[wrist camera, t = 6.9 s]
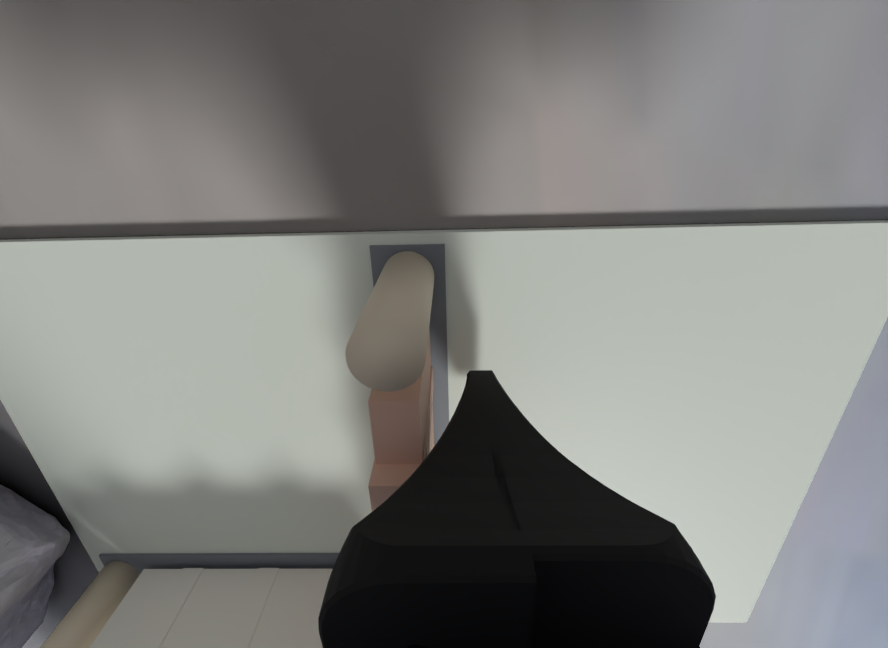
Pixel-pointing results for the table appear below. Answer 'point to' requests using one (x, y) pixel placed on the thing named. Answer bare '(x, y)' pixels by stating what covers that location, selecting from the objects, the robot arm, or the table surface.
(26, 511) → the stone block
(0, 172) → the table surface
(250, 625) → the fence fixed
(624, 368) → the card
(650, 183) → the table surface
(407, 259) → the fence panel
